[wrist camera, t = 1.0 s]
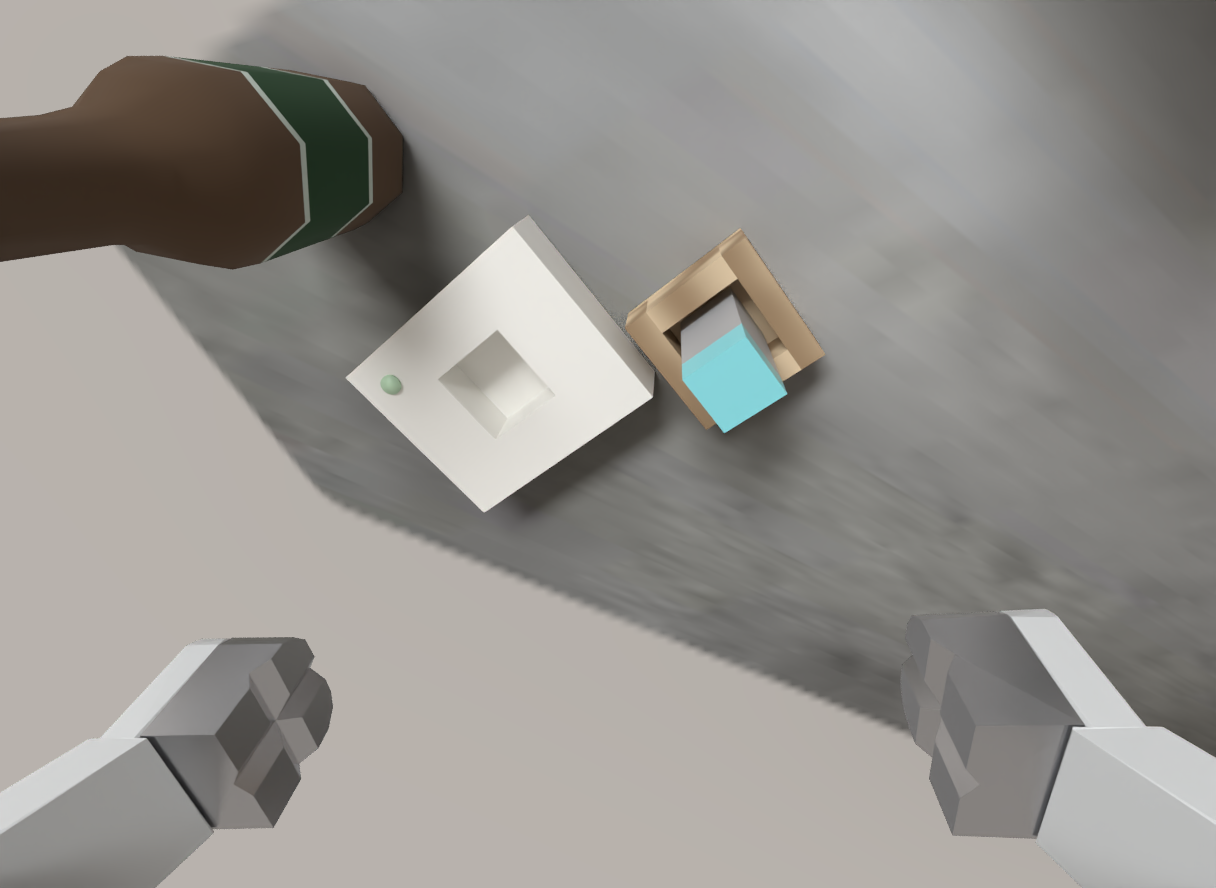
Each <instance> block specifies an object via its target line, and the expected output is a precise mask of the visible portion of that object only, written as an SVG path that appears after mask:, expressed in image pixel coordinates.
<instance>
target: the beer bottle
mask: <svg viewBox="0 0 1216 888" xmlns="http://www.w3.org/2000/svg"><path fill="white" fill-rule="evenodd" d="M402 165H403V136H402V134H401V133H400V132H399V130H398V129H397V128H396V126H395V125H394V124H393V122H392V121H391V120H390V118H389V117H388V116H387V114H386V113H385V112H384V110H383V109H382V108H381V106H380V105H379V104H378V102H377V101H376V100H375V98H374V97H373V96H372V94H371V93H370V92H369V90H368V89H367V88H366V86H365V85H360V84H356V83H352V82H347V81H342V80H337V79H332V78H327V77H322V76H317V75H312V74H307V73H302V72H297V71H292V70H283V69H275V68H266V67H257V66H248V65H239V64H230V63H222V62H213V61H204V60H195V59H186V58H177V57H168V56H127V57H125V58H123V59H121V60H119V61H118V62H116V63H114V64H112V65H110V66H109V67H107V68H105V69H103V70H101V71H100V72H99V73H98V74H97V76H96V77H95V78H94V79H93V81H92V82H91V83H90V85H89V86H88V87H87V88H86V90H85V91H84V92H83V94H82V95H81V96H80V98H79V99H78V100H77V101H76V103H75V104H74V105H73V106H72V107H70V108H66V109H62V110H58V111H54V112H50V113H46V114H42V115H35V116H23V117H12V118H11V117H10V118H0V262H2V261H9V260H16V259H22V258H29V257H35V256H42V255H49V254H55V253H62V252H68V251H76V250H82V249H88V248H96V247H102V246H109V245H126V246H127V247H129V248H131V249H133V250H134V251H136V252H141V253H146V254H151V255H156V256H161V257H166V258H171V259H176V260H181V261H186V262H191V263H196V264H202V265H208V266H214V267H221V268H227V269H237V268H241V267H246V266H251V265H255V264H260V263H263V262H266V261H268V260H271V259H274V258H277V257H279V256H282V255H285V254H288V253H290V252H293V251H296V250H299V249H302V248H304V247H307V246H310V245H313V244H315V243H318V242H321V241H324V240H326V239H329V238H332V237H335V236H337V235H340V234H343V233H346V232H348V231H351V230H354V229H356V228H358V227H360V226H362V225H364V224H366V223H368V222H369V221H370V220H371V219H372V218H373V217H374V216H376V215H377V214H378V213H379V212H380V211H381V210H382V209H384V208H385V207H386V206H387V205H388V204H389V203H391V202H392V201H393V200H394V199H395V198H396V197H397V196H399V195H400V194H401V193H402Z"/></svg>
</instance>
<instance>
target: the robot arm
mask: <svg viewBox="0 0 1216 888" xmlns="http://www.w3.org/2000/svg"><path fill="white" fill-rule="evenodd" d="M905 639H906V641H907V644H908V646H909V648H910V650H911V652H912V656H911V657H910V658H909V659H908V660H907V661H906V662H904V663H903V664H902V671H901V683H900V685H901V694H902V703H903V709H904V712H905V716H906V719H907V723H908V726H909V729H910V731H911V734H912V736H913V739H914V742H915V744H916V745H918V746H919V747H920V748H921V749H923V750H924V751H925V752H926V753H927V754H929V755H930V756H931V757H932V764H931V770H930V777H929V779H930V782H931V784H932V786H933V789H934V791H935V794H936V796H937V799H938V801H939V803H940V806H941V808H942V811H943V813H944V816H945V818H946V821H947V823H948V825H949V828H950V830H951V833H952V835H955V836H957V835H958V836H981V837H1007V838H1034V839H1036V844H1037V845H1038V846H1039V847H1040V848H1042V849H1043V850H1044V851H1045V852H1046V853H1047V854H1048V855H1049V856H1050V857H1051V858H1052V859H1053V860H1054V861H1055V862H1056V863H1057V864H1058V865H1059V866H1060V867H1061V868H1062V869H1063V870H1064V871H1065V872H1066V873H1068V874H1069V875H1070V877H1071V878H1073V879H1074V880H1075V881H1076V882H1077V883H1078V884H1079V885H1080V886H1081V887H1082V888H1216V758H1215V757H1214V756H1212V755H1210V754H1209V753H1207V752H1205V751H1203V750H1202V749H1200V748H1198V747H1197V746H1195V745H1193V744H1191V743H1190V742H1188V741H1186V740H1185V739H1183V738H1181V737H1179V736H1178V735H1176V734H1174V733H1173V732H1171V731H1169V730H1167V729H1166V728H1164V727H1154V726H1146V725H1145V724H1144V723H1143V722H1142V720H1141V719H1140V718H1139V717H1138V715H1137V714H1136V713H1135V712H1134V711H1133V709H1132V708H1131V707H1130V706H1129V704H1128V703H1127V702H1126V701H1125V699H1124V698H1123V697H1122V696H1121V694H1120V693H1119V692H1118V691H1117V690H1116V688H1115V687H1114V686H1113V685H1112V683H1111V682H1110V681H1109V680H1108V678H1107V677H1106V676H1105V675H1104V673H1103V672H1102V671H1101V670H1100V669H1099V667H1098V666H1097V665H1096V664H1095V662H1094V661H1093V660H1092V659H1091V657H1090V656H1089V655H1088V654H1087V652H1086V651H1085V650H1084V649H1083V647H1082V646H1081V645H1080V644H1079V643H1078V641H1077V640H1076V639H1075V638H1074V636H1073V635H1072V634H1071V633H1070V631H1069V630H1068V629H1067V628H1066V626H1065V625H1064V624H1063V623H1062V622H1061V620H1060V619H1059V618H1058V617H1057V615H1056V614H1054V613H1052V612H1051V611H1049V610H1047V609H1031V610H1010V611H1000V612H994V611H993V612H971V613H948V614H926V615H912V616H911V618H910V619H909V621H908V623H907V630H906V637H905ZM313 659H314V655H313V653H312V651H311V649H310V648H309V646H308V644H307V642H306V641H305V639H299V638H294V637H284V638H283V637H278V638H276V637H274V638H231V639H199V640H197V641H195V642H193V643H191V644H189V645H186V647H185V648H184V649H183V650H182V651H181V652H180V653H179V654H178V655H177V656H176V657H175V658H174V659H173V661H172V662H171V663H170V664H169V665H168V666H167V667H166V668H165V669H164V670H163V671H162V672H161V673H160V674H159V676H158V677H157V678H156V679H155V680H154V681H153V682H152V683H151V684H150V685H149V686H148V687H147V688H146V690H145V691H144V692H143V693H142V694H141V695H140V696H139V697H138V698H137V699H136V700H135V701H134V702H133V704H131V706H130V707H129V708H128V709H127V710H126V711H125V712H124V713H123V714H122V715H121V716H120V717H119V718H118V719H117V720H116V722H115V723H114V724H113V725H112V726H111V727H110V728H109V729H108V730H107V731H106V732H105V733H104V734H103V735H102V737H101V738H92V739H88V740H86V741H85V742H83V743H81V744H80V745H78V746H76V747H75V748H73V749H71V750H70V751H68V752H67V753H65V754H63V755H62V756H60V757H58V758H57V759H55V760H53V761H52V762H50V763H48V764H47V765H45V766H43V767H42V768H40V769H38V770H37V771H35V772H33V773H32V774H30V775H28V776H27V777H25V778H23V779H22V780H20V781H18V782H17V783H15V784H14V785H12V786H10V787H9V788H7V789H5V790H4V791H2V792H0V888H155V887H157V885H159V884H160V883H161V882H162V881H163V880H164V879H165V878H166V877H167V876H168V875H169V874H170V873H171V872H173V871H174V870H175V869H176V868H177V867H178V866H179V865H180V864H181V863H182V862H183V861H184V860H185V859H187V857H188V856H190V855H191V854H192V853H193V852H194V851H195V850H196V849H197V848H198V847H199V846H200V845H201V844H203V843H204V842H205V841H206V840H207V839H208V838H209V837H210V836H211V835H212V834H213V833H214V831H213V830H212V829H242V828H243V829H244V828H274V826H275V824H276V822H277V821H278V819H279V817H280V815H281V813H282V812H283V810H284V808H285V807H286V805H287V803H288V801H289V799H290V797H291V796H292V794H293V792H294V791H295V789H296V787H297V785H298V783H299V782H300V780H301V774H300V765H299V763H301V762H302V761H303V760H304V759H306V758H307V757H308V756H309V755H311V754H312V753H313V752H314V751H316V750H317V749H318V747H319V745H320V744H321V742H322V740H323V738H324V736H325V734H326V733H327V731H328V728H329V724H330V718H331V714H332V709H333V704H332V696H331V691H330V689H329V686H328V684H327V682H326V680H325V679H324V678H323V677H322V676H320V675H319V674H318V673H316V672H315V671H313V670H312V669H311V668H310V667H311V664H312V662H313Z"/></svg>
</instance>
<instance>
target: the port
mask: <svg viewBox="0 0 1216 888" xmlns="http://www.w3.org/2000/svg"><path fill="white" fill-rule="evenodd" d="M654 377H655V371H654V370H653V369H652V367H651V366H650V365H649V364H648V362H647V361H646V360H645V359H644V357H643V356H642V355H641V354H640V352H639V351H638V350H637V349H636V347H635V346H634V345H633V344H632V342H631V341H630V340H629V339H628V337H627V336H626V335H625V334H624V333H623V331H622V330H621V329H620V328H619V326H618V325H617V324H616V323H615V321H614V320H613V319H612V318H611V316H610V315H609V314H608V313H607V311H606V310H605V309H604V308H603V306H602V305H601V304H600V303H599V302H598V300H597V299H596V298H595V297H594V295H593V294H592V293H591V292H590V290H589V289H588V288H587V287H586V285H585V284H584V283H583V282H582V280H581V279H580V278H579V277H578V275H577V274H576V273H575V272H574V270H573V269H572V268H571V267H570V266H569V264H568V263H567V262H566V261H565V259H564V258H563V257H562V256H561V254H560V253H559V252H558V251H557V249H556V248H555V247H554V246H553V244H552V243H551V242H550V241H549V239H548V238H547V237H546V236H545V235H544V233H543V232H542V231H541V230H540V228H539V227H538V226H537V225H536V223H535V222H534V221H533V220H532V218H531V217H530V216H529V215H528V216H526V217H525V218H523V219H522V220H521V221H519V222H518V223H516V224H515V225H513V226H512V227H511V228H510V229H509V230H508V231H507V232H506V233H504V234H503V235H502V236H501V237H500V238H499V239H498V240H497V241H496V242H495V243H493V244H492V245H491V246H490V247H489V248H488V249H487V250H486V251H485V252H484V253H482V254H481V255H480V256H479V257H478V258H477V259H476V260H475V261H474V262H473V263H471V264H470V265H469V266H468V267H467V268H466V269H465V270H464V271H463V272H462V273H460V274H459V275H458V276H457V277H456V278H455V279H454V280H453V281H452V282H451V283H449V284H448V285H447V286H446V287H445V288H444V289H443V290H442V291H441V292H439V293H438V294H437V295H436V296H435V297H434V298H433V299H432V300H431V301H430V302H428V303H427V304H426V305H425V306H424V307H423V308H422V309H421V310H420V311H419V312H417V313H416V314H415V315H414V316H413V317H412V318H411V319H410V320H409V321H408V322H406V323H405V324H404V325H403V326H402V327H401V328H400V329H399V330H398V331H397V332H395V333H394V334H393V335H392V336H391V337H390V338H389V339H388V340H387V341H386V342H384V343H383V344H382V345H381V346H380V347H379V348H378V349H377V350H376V351H375V352H373V353H372V354H371V355H370V356H369V357H368V358H367V359H366V360H365V361H364V362H362V363H361V364H360V365H359V366H358V367H357V368H356V369H355V370H354V371H353V372H351V373H350V374H349V375H348V376H347V377H346V379H347V380H348V381H349V382H350V383H351V384H352V385H353V386H354V387H355V388H357V389H358V390H359V391H360V392H361V393H362V394H363V395H364V396H365V397H366V398H367V399H368V400H369V401H370V402H371V403H372V404H373V405H374V406H375V407H376V408H377V409H378V410H379V411H380V412H381V413H382V414H383V415H384V416H385V417H386V418H387V419H388V420H389V421H390V422H391V423H392V424H394V425H395V426H396V427H397V428H398V429H399V430H400V431H401V432H402V433H403V434H404V435H405V436H406V437H407V438H408V439H409V440H410V441H411V442H412V443H413V444H414V445H415V446H416V447H417V448H418V449H419V450H420V451H421V452H422V453H423V454H424V455H425V456H426V457H427V458H428V459H429V460H430V461H432V462H433V463H434V464H435V465H436V466H437V467H438V468H439V469H440V470H441V471H442V472H443V473H444V474H445V475H446V476H447V477H448V478H449V479H450V480H451V481H452V482H453V483H454V484H455V485H456V486H457V487H458V488H459V489H460V490H461V491H462V492H463V493H464V494H465V495H466V496H467V497H469V498H470V499H471V500H472V501H473V502H474V503H475V504H476V505H477V506H478V507H479V508H480V509H481V510H482V511H483V512H486V511H487V510H489V509H490V508H492V507H493V506H495V505H496V504H498V503H499V502H500V501H502V500H503V499H505V498H506V497H508V496H509V495H511V494H512V493H514V492H515V491H517V490H518V489H519V488H521V487H522V486H524V485H525V484H527V483H528V482H530V481H531V480H533V479H534V478H536V477H537V476H539V475H540V474H541V473H543V472H544V471H546V470H547V469H549V468H550V467H552V466H553V465H555V464H556V463H558V462H559V461H560V460H562V459H563V458H565V457H566V456H568V455H569V454H571V453H572V452H574V451H575V450H577V449H578V448H579V447H581V446H582V445H584V444H585V443H587V442H588V441H590V440H591V439H593V438H594V437H596V436H597V435H599V434H600V433H601V432H603V431H604V430H606V429H607V428H609V427H610V426H612V425H613V424H615V423H616V422H618V421H619V420H620V419H622V418H623V417H625V416H626V415H628V414H629V413H631V412H632V411H634V410H635V409H637V408H638V407H639V406H641V405H642V404H644V403H645V402H647V401H648V400H650V399H651V398H653V391H654Z"/></svg>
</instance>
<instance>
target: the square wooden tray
mask: <svg viewBox="0 0 1216 888" xmlns="http://www.w3.org/2000/svg"><path fill="white" fill-rule="evenodd" d="M729 287H730V288H731V289H732V290H733V292H734V293H735V295H736V296H737V297H738V299H739V300H740V302H741V303H742V304H743V306H744V307H745V309H746V310H747V311H748V313H749V314H750V316H751V317H752V318H753V320H754V321H755V323H756V324H757V325H758V327H759V328H760V330H761V331H762V333H763V335H764V337H765V340H766V342H767V345H768V347H769V350H770V352H771V354H772V357H773V359H774V362H775V364H776V367H777V369H778V372H779V374H780V377H781V379H782V382H783V381H784V380H786V379H788V378H789V377H791V376H792V375H794V374H795V373H797V372H799V371H800V370H802V369H803V368H805V367H807V366H808V365H810V364H811V363H813V362H814V361H816V360H818V359H819V358H821V357H822V356H824V355H825V353H824V352H823V350H822V348H821V347H820V345H819V344H818V342H817V340H816V339H815V337H814V336H813V334H812V333H811V331H810V330H809V328H808V327H807V325H806V324H805V322H804V321H803V319H802V318H801V317H800V315H799V314H798V312H797V311H796V309H795V308H794V306H793V305H792V303H791V302H790V300H789V299H788V297H787V296H786V294H785V293H784V291H783V290H782V289H781V287H780V286H779V284H778V283H777V281H776V280H775V278H774V277H773V275H772V274H771V272H770V271H769V269H768V268H767V266H766V265H765V263H764V262H763V260H762V259H761V258H760V256H759V255H758V253H757V252H756V250H755V249H754V247H753V246H752V244H751V243H750V241H749V240H748V238H747V237H746V235H745V234H744V232H743V231H742V229H741V228H740V229H738V230H737V231H736V232H734V233H733V234H732V235H731V236H729V237H728V238H727V239H725V240H724V241H723V242H721V243H720V244H719V245H717V246H716V247H715V248H713V249H712V250H711V251H710V252H708V253H707V254H706V255H704V256H703V257H702V258H700V259H699V260H698V261H696V262H695V263H694V264H692V265H691V266H690V267H688V268H687V269H686V270H685V271H683V272H682V273H681V274H679V275H678V276H677V277H675V278H674V279H673V280H671V281H670V282H669V283H667V284H666V285H665V286H663V287H662V288H661V289H660V290H658V291H657V292H656V293H654V294H653V295H652V296H650V297H649V298H648V299H646V300H645V301H644V302H642V303H641V304H640V305H639V306H637V307H636V308H635V309H633V310H632V311H631V312H629V313H628V317H627V322H626V326H625V329H626V330H627V332H628V333H629V334H630V335H631V337H632V338H633V339H634V340H635V342H636V343H637V344H638V345H639V347H640V348H641V349H642V350H643V351H644V353H645V354H646V355H647V356H648V358H649V359H650V360H651V361H652V363H653V364H654V365H655V366H656V368H657V369H658V370H659V371H660V373H661V374H662V375H663V376H664V378H665V379H666V380H667V381H668V383H669V384H670V385H671V386H672V388H673V389H674V390H675V391H676V393H677V394H678V395H679V396H680V398H681V399H682V400H683V401H684V403H685V404H686V405H687V406H688V408H689V409H690V410H691V411H692V413H693V414H694V415H695V416H696V418H697V419H698V420H699V421H700V423H701V424H702V425H703V426H704V427H705V429H706V430H707V429H709V428H710V427H712V426H713V425H715V424H717V423H716V422H715V421H714V420H713V418H712V417H711V416H710V414H709V413H708V412H707V411H706V409H705V408H704V407H703V406H702V404H701V403H700V402H699V401H698V399H697V398H696V397H695V395H694V394H693V393H692V392H691V390H690V389H689V388H688V387H687V385H686V384H685V383H684V382H683V380H682V355H681V323H680V322H682V321H683V320H684V319H686V318H687V317H689V316H690V315H691V314H693V313H694V312H695V311H697V310H698V309H700V308H701V307H702V306H704V305H705V304H707V303H708V302H709V301H711V300H712V299H713V298H715V297H716V296H718V295H719V294H720V293H722V292H723V291H724V290H726V289H727V288H729Z"/></svg>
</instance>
